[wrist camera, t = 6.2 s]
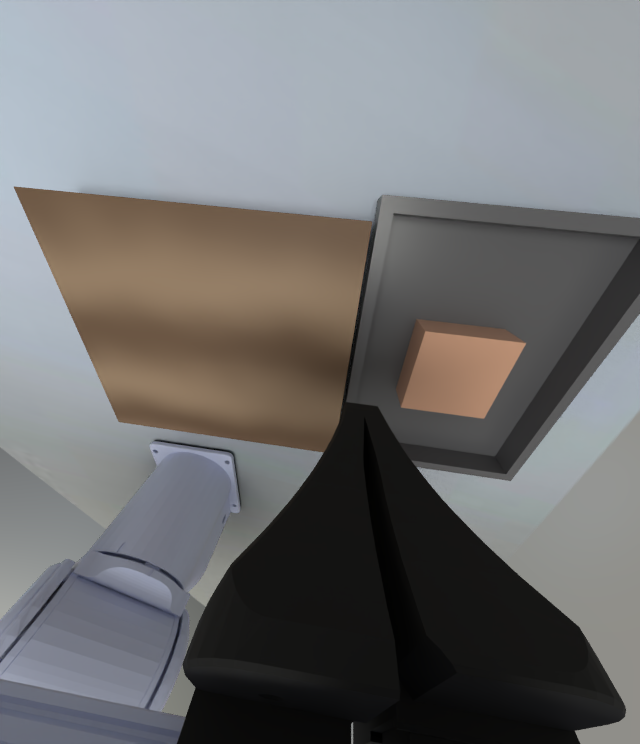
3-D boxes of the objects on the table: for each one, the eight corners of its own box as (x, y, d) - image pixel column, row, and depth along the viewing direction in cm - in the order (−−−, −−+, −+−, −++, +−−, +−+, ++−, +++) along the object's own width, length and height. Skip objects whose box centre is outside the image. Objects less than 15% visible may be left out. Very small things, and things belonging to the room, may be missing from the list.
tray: (495, 456, 20) (510, 480, 18) (338, 434, 20) (336, 455, 18) (649, 225, 11) (708, 224, 10) (377, 199, 12) (382, 194, 10)
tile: (400, 407, 15) (395, 389, 17) (483, 418, 15) (470, 399, 17) (425, 331, 13) (416, 318, 14) (526, 343, 12) (505, 329, 14)
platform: (336, 424, 20) (333, 453, 17) (147, 397, 21) (118, 421, 18) (368, 222, 13) (372, 221, 10) (77, 194, 14) (13, 186, 11)
